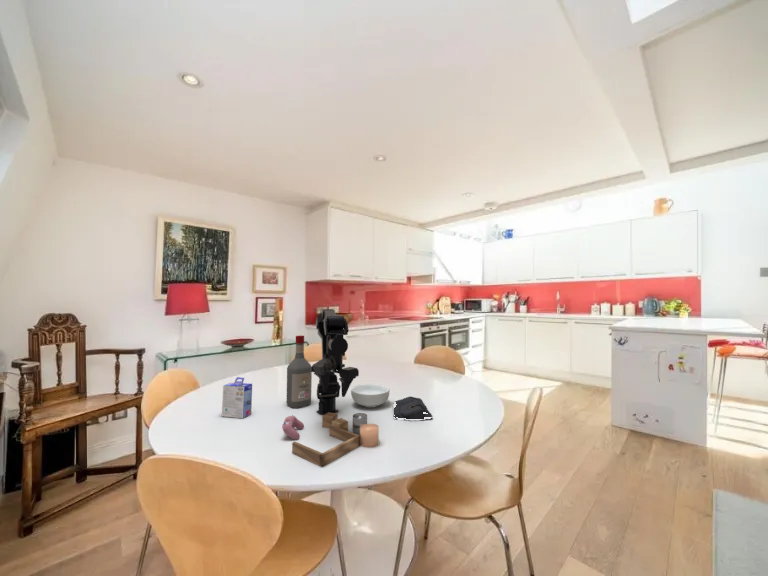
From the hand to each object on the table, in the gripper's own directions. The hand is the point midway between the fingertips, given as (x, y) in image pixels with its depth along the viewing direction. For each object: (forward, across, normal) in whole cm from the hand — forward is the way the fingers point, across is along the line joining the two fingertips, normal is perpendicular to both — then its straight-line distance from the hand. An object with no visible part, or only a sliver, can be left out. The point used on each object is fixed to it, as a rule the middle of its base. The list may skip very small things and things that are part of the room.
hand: (334, 394), depth 110 cm
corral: (+12, +10, -12) cm, 19 cm away
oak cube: (+12, +4, -1) cm, 13 cm away
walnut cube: (+12, -3, +1) cm, 13 cm away
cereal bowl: (+12, -6, +28) cm, 31 cm away
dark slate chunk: (+13, +12, +32) cm, 37 cm away
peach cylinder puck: (+12, +17, -1) cm, 21 cm away
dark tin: (+12, +10, +2) cm, 16 cm away
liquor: (+12, -31, +9) cm, 35 cm away
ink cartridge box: (+12, -40, -14) cm, 44 cm away
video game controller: (+12, -8, -12) cm, 19 cm away
